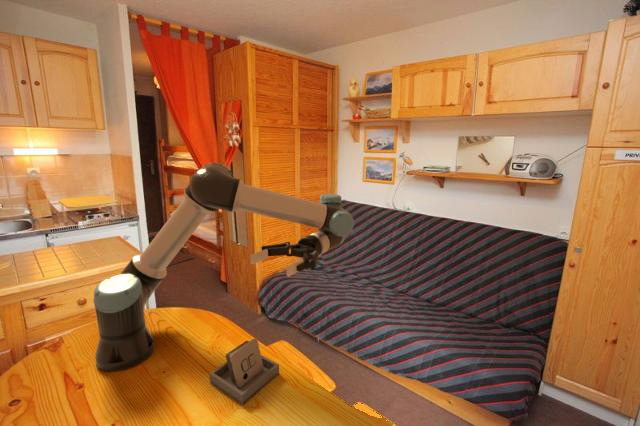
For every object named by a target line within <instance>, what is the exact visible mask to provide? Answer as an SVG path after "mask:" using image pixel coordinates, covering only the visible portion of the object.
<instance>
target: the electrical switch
mask: <svg viewBox="0 0 640 426" xmlns="http://www.w3.org/2000/svg"><path fill="white" fill-rule="evenodd" d="M261 355H262V353H261V350H260V346H259V341H258V339H256V338H252V339H251V340H250V341H249V340H245V341H244V342H242V343H241V344H240V345H238V346H236V347H234V348H233V349H232V350H230V351H229V352H227V353H226V354H225V359H226V362H227V364H228V368H229V372H230V376H231V380H232V382H235V383H236V386H237V387H239V388H241V387H242V386H244V385H245V384H246V383H247V382H249V381H250V380H251V379H252V378H253V377H255V376H256V375H257V374H258V373H260V372H261V371H262V370H263V368H264V366H263V362H262V358H261ZM232 368H233V370H232ZM233 372H234V373H233Z"/></svg>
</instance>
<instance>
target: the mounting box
mask: <svg viewBox="0 0 640 426" xmlns="http://www.w3.org/2000/svg"><path fill="white" fill-rule="evenodd" d="M261 358H262V362H263V366H264V368H263V370H262V371H261V372H260V373H258V374H257V375H256V376H255V377H253V378H252V379H251V380H250V381H249V382H247V383H246V384H245V385H244V386H242V387H241V388H239V387H237V386H236V383H235V382H232V380H231V376H230V372H229V368H228V364H227V361H226V362H224V363H223V364H221V365H220V366H219V367H216V368H215V369H214V370H212V371H211V372H209V384H211V385H212V386H214V387H215V388H217V390H219V391H221V392H222V393H224V394H225V395H227V396H228V397H230V398H231V399H233V400H234V401H235V402H237V403H238V404H240V405H242V406H244V405H246V403H247V402H249V400H250V399H253V397H254V396H255V395H256V394H258V393H259V392H260V391H261V390H262V389H264V387H266V386H267V385H268V384H269V383H271V382H272V381H273V380H274V379H275V378H276V377H278V375H280V364H279V363H277V362H275V361H274V360H271V359H270V358H268V357H265V356H264V355H262V354H261ZM232 370H233V368H232ZM233 373H234V372H233Z"/></svg>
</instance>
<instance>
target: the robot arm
mask: <svg viewBox="0 0 640 426" xmlns="http://www.w3.org/2000/svg"><path fill="white" fill-rule="evenodd" d="M183 193H184V198H183V199H182V201H181V202H180V204H179V205H178V206H177V208H176V209H174V211H173V212H172V214H171V215H170V217H169V218H168V220H167V221H166V222H165V223H164V225H163V226H162V227H161V229H160V230H159V231H158V232H157V233H156V235H155V236H154V238H153V239H152V240H151V242H150V243H149V244H148V246H147V247H146V248H145V250H144V251H143V252H142V253H138V254H135V255H134V256H133V257H132V258H131V260H130V261H129V262H128V264H127V265H126V266H125V268H124V269H123V270H122V271H121V273H119V274H116V275H113V276H109V278H106V279H104V280H102V281H100V282H99V283H98V284H97V285H96V287H95V288H94V291H93V304H94V308H95V313H96V321H97V325H98V326H97V328H98V332H99V333H98V334H99V339H98V343H97V347H96V351H95V356H94V358H95V365H96V367H97V368H98V369H99V370H101V371H105V372H109V373H110V372H120V371H124V370H129V369H132V368H133V367H137V366H139V365H140V364H142V363H144V362H145V361H147V360H148V359H149V358H150V357H151V356H152V354H153V353H154V351H155V341H154V337H153V335H152V333H151V332H150V331H149V329H148V327H147V325H146V319H145V305H146V304H147V303H148V301H149V300H150V298H151V297H152V294H153V293H154V292H155V290H156V289H157V288H158V287H159V286H160V284H161V283H162V281H163V280H164V279H165V278H166V276H167V273H168V271H167V267H168V266H169V265H170V263H171V262H172V261H173V259H174V258H175V257H176V256H177V254H178V253H179V252H180V250H181V249H182V248H183V247H184V245H185V244H186V242H188V240H189V239H190V238H191V236H193V233H195V231H196V230H197V229H198V227H199V226H200V225H201V223H202V222H203V221H204V219H205V218H206V217H207V216H208V214H212V213H215V212H217V210H220V211H227V212H230V213H234V212H237V211H242V212H247V213H250V214H256V215H261V216H265V217H267V218H273V219H277V220H282V221H286V222H291V223H294V224H299V225H304V226H308V227H313V228H317V229H318V231H316V232H313V233H310V234H308V235H306V236H303V237H301V238H300V239H299V240H298V241H297V243H294V244H291V242H290V241H285V242H282V243H274V244H269V245H262V246H261V250H260V251H258V252H255V253H252V254H250V255H249V257H250V260H249V261H250V263H249V264H250V265H254V264H257V263H260V262H261V261H264V260H267V259H269V257H279V256H280V257H281V256H286V257H289V258H290V257H296V258H302V259H300V260H297V261H295V262H293V263H292V264H290V265H287V266H286V277H288V278H290V277H291V276H293V275H295V274H297V273H299V272H302V271H303V270H309V269H310V270H311V271H315V270H316V268H317V265H318V263H319V261H320V260H321V259H322V254H324V253H326V252H329V251H331V250H333V249H336V248H337V247H339V246H340V245H342V244H343V243H344V241H345V239H346V236H348V235H349V234H350V233H351V232H352V231H353V229H354V227H355V226H354V225H355V221H354V220H355V219H354V217H353V216H352V215H351V213H350V212H349V211H347V210H346V209H344V208H343V206H342V204H343V203H342V196H341V195H340V194H336V193H324V194H321V195H320V197H319V202H316V201H312V200H309V199H304V198H301V197H296V196H293V195H292V196H291V195H289V194H284V193H281V192H277V191H274V190H273V191H272V190H269V189H264V188H261V187H258V186H257V187H256V186H253V185H250V184H249V185H248V184H245V183H244V182H243V180H242V179H239V178H236V177H235V176H234V175H233V173H232V171H231V170H230V169H229V167H227V166H226V165H224V164H222V163H217V162H210V163H207V164H205V165H203V166H202V167H201V168H200V169H198V170H197V171H195V172H194V173H193V174H192V176H191V179H190V181H189V183H188V185H187V186H186V187H185V189H184V190H183ZM310 260H311V261H310Z"/></svg>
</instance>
